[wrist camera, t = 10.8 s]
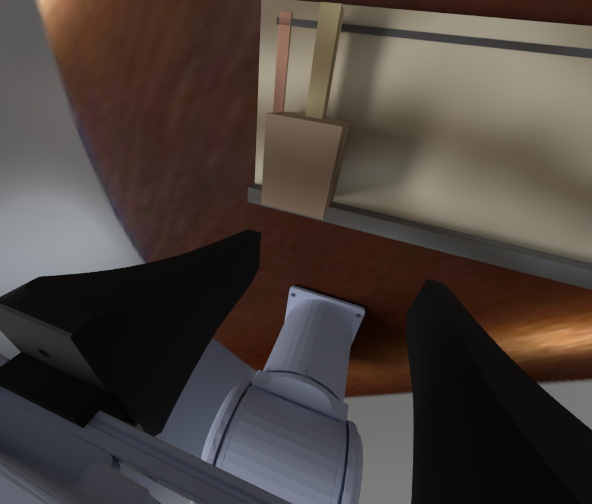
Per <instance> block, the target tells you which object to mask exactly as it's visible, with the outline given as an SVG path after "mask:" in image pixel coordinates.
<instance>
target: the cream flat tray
mask: <svg viewBox="0 0 592 504" xmlns="http://www.w3.org/2000/svg"><path fill="white" fill-rule="evenodd" d="M342 6H343V9H344V15H343V21H342V27H341V32H340V38H339V44H338V49H337V55H336V61H335V67H334V72H333V78H332V84H331V89H330V95H329V101H328V106H327V112H326V118H331V119H336V120H342V121H348V122H351V126H350V130H349V134H348V139H347V143H346V147H345V152H344V156H343V160H342V165H341V169H340V173H339V178H338V182H337V186H336V191H335V195H334V199H333V201H332V203H331V205H330V207H329V208H328V210H327V212H326V214H325V216H324V218H323V220H322V219H318V218H314V217H310V216H306V215H302V214H298V213H294V212H290V211H286V210H282V209H278V208H274V207H270V206H267V205H263V204H261V196H262V177H263V159H264V140H265V122H266V113H273V112H289V111H291V112H297V113H302V114H306V106H307V99H308V92H309V84H310V77H311V69H312V62H313V54H314V47H315V39H316V32H317V24H318V17H319V9H320V2H309V1H298V0H262V5H261V32H260V59H259V87H258V114H257V141H256V169H255V183H254V184H253V185H251V186H249V187H248V202H250V203H254V204H257V205H261V206H265V207H269V208H273V209H277V210H281V211H285V212H289V213H293V214H297V215H301V216H304V217H308V218H312V219H316V220H320V221H324V222H328V223H332V224H336V225H340V226H344V227H348V228H352V229H355V230H359V231H363V232H367V233H371V234H375V235H379V236H383V237H387V238H391V239H395V240H399V241H402V242H406V243H410V244H414V245H418V246H422V247H426V248H430V249H434V250H438V251H442V252H446V253H449V254H453V255H457V256H461V257H465V258H469V259H473V260H477V261H481V262H485V263H489V264H493V265H496V266H500V267H504V268H508V269H512V270H516V271H520V272H524V273H528V274H532V275H536V276H540V277H543V278H547V279H551V280H555V281H559V282H563V283H567V284H571V285H575V286H579V287H583V288H587V289H590V290H592V26H584V25H572V24H561V23H549V22H538V21H526V20H515V19H503V18H492V17H481V16H469V15H458V14H446V13H435V12H423V11H412V10H401V9H389V8H378V7H366V6H355V5H343V4H342Z"/></svg>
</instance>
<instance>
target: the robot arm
mask: <svg viewBox="0 0 592 504" xmlns="http://www.w3.org/2000/svg"><path fill="white" fill-rule="evenodd" d="M260 243H261V233H260V232H257V231H253V230H249V229H248V230H245V231H242V232H240V233H237V234H235V235H232V236H230V237H228V238H225V239H223V240H220V241H218V242H215V243H213V244H210V245H207V246H205V247H202V248H199V249H196V250H193V251H191V252H188V253H185V254H181V255H178V256H175V257H171V258H167V259H164V260H160V261H155V262H151V263H146V264H141V265H136V266H131V267H126V268H120V269H114V270H106V271H99V272H90V273H80V274H70V275H69V274H68V275H57V276H43V277H38V278H36V279H34V280H32V281H30V282H28V283H26V284H24V285H22V286H20V287H18V288H17V289H15V290H13V291H11V292H9V293H7V294H5V295H3V296H1V297H0V330H1V331H2V333H4V335H5V336H6V337H7V338H8V339H9V340H10V341H11V342H12V343H13V344H14V345H15V346H16V347H17V348H18V349H19V350H20V351H21V353H19V354H18V355H17V356H15V357H14V358H13V359H11V360H9V359H8V358H6V357H5V356H3V355H2V354H0V504H161V503H160V502H158V501H157V500H156V499H155V498H154V497H153V496H151V494H150V493H149V491H148V489H146V488H145V487H143V486H141V485H140V484H138V483H136V482H135V481H133V480H131V479H130V478H128V477H126V476H125V475H123V474H122V473H120V464H122V465H124V466H126V467H128V468H130V469H131V470H134V471H135V472H137V473H139V474H141V475H143V476H145V477H147V478H149V479H151V480H153V481H154V482H156V483H158V484H160V485H162V486H164V487H166V488H168V489H170V490H172V491H174V492H175V493H177V494H179V495H181V496H183V497H185V498H187V499H189V500H190V502H191V503H190V504H358V502H359V496H360V489H361V480H362V467H363V449H362V440H361V437H360V435H359V433H358V431H357V427H356V425H355V424H354V423H353V422H351V421H349V420H347V412H348V405H347V404H346V403H343V401H344V394H345V386H346V378H347V371H348V363H349V355H350V348H351V345H352V342H353V340H354V338H355V335H356V333H357V331H358V328H359V326H360V324H361V321H362V319H363V317H364V314H365V309H364V308H363V307H361V306H358V305H355V304H352V303H348V302H345V301H342V300H339V299H336V298H332V297H329V296H326V295H323V294H320V293H316V292H313V291H310V290H307V289H303V288H300V287H297V286H292V287H291V288H290V291H289V297H288V304H287V310H286V316H285V323H284V326H283V328H282V330H281V332H280V334H279V337H278V339H277V341H276V343H275V346H274V348H273V350H272V352H271V354H270V357H269V359H268V361H267V363H266V366H265V368H264V370H263V371H261V370H258V372H257V374H256V376H255V378H254V380H253V382H251V381H248V380H244V381H243V382H241V383H240V384H238V385H236V386H235V387H234V388H233V389H232V390H231V391H230V393H229V394H228V396H227V397H226V399H225V400H224V402H223V404H222V406H221V408H220V410H219V412H218V414H217V416H216V418H215V420H214V422H213V424H212V427H211V429H210V431H209V434H208V437H207V439H206V442H205V445H204V449H203V453H202V457H201V459H199V458H197V457H195V456H193V455H191V454H189V453H187V452H185V451H183V450H181V449H178V448H176V447H174V446H172V445H170V444H168V443H166V442H164V441H162V440H160V439H158V438H156V437H154V436H156V435H158V434H159V433H161V432H162V430H163V428H164V426H165V424H166V422H167V420H168V418H169V416H170V414H171V412H172V410H173V408H174V406H175V404H176V402H177V400H178V398H179V396H180V394H181V392H182V391H183V389H184V387H185V385H186V383H187V381H188V379H189V378H190V376H191V374H192V372H193V370H194V368H195V367H196V365H197V363H198V361H199V360H200V357H201V356H202V354H203V352H204V351H205V349H206V347H207V345H208V344H209V342H210V341H211V339H212V337H213V336H214V334H215V332H216V331H217V329H218V328H219V326H220V325H221V323H222V322H223V320H224V319H225V318H226V316H227V315H228V314H229V312H230V311H231V310H232V308H233V307H234V306H235V304H236V303H237V302H238V301H239V299H240V298H241V297H242V295H243V294H244V292H245V291H246V290H247V288H248V287H249V286H250V284H251V282H252V281H253V279H254V277H255V275H256V273H257V271H258V269H259V265H260ZM293 293H294V294H293ZM358 314H360V315H358ZM406 337H407V347H408V356H409V364H410V373H411V381H412V390H413V408H414V409H413V411H414V412H413V413H414V441H413V442H414V443H413V479H412V501H411V504H592V430H591V429H590V428H589V427H587V426H586V425H585V424H584V423H582V422H581V421H580V420H579V419H577V418H576V417H575V416H574V415H573V414H572V413H570V412H569V411H568V410H567V409H566V408H565V407H563V406H562V405H561V404H560V403H559V402H557V401H556V400H555V399H554V398H553V397H552V396H550V395H549V394H548V393H547V392H546V391H545V390H544V389H543V388H542V387H540V386H539V385H538V384H537V383H536V382H535V381H534V380H533V379H532V378H531V377H530V376H529V375H528V374H527V373H525V372H524V371H523V370H522V369H521V368H520V367H519V366H518V365H517V364H516V363H515V362H514V361H513V360H512V359H511V358H510V357H509V356H508V355H507V354H506V353H505V352H504V351H503V350H502V349H501V348H500V347H499V346H498V345H497V343H496V342H495V341H494V340H493V339H492V338H491V337H490V336H489V335H488V334H487V333H486V332H485V330H484V329H483V328H482V327H481V326H480V325H479V324H478V323H477V321H476V320H475V319H474V318H473V317H472V316H471V314H470V313H469V312H468V311H467V310H466V309H465V307H464V306H463V305H462V304H461V303H460V301H459V300H458V299H457V298H456V297H455V295H454V294H453V293H452V292H451V291H450V290H449V289H448V287H447V286H446V285H445V284H444V283H441V282H437V281H433V280H430V279H427V280H426V282H425V283H424V285H423V287H422V289H421V290H420V292H419V294H418V295H417V297H416V299H415V300H414V302H413V304H412V306H411V307H410V309H409V311H408V312H407V326H406ZM119 463H120V464H119Z"/></svg>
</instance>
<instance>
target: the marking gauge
mask: <svg viewBox="0 0 592 504" xmlns="http://www.w3.org/2000/svg"><path fill="white" fill-rule="evenodd" d="M343 15H344V9H343V6H342V4H339V3H327V2H320V9H319V17H318V24H317V32H316V39H315V47H314V54H313V62H312V69H311V77H310V84H309V92H308V99H307V106H306V114H302V113H297V112H291V111H289V112H273V113H266V122H265V140H264V159H263V177H262V196H261V204H263V205H267V206H270V207H274V208H278V209H282V210H286V211H290V212H294V213H298V214H302V215H306V216H310V217H314V218H318V219H322V220H323V218H324V216H325V214H326V212H327V210H328V208H329V207H330V205H331V203H332V201H333V199H334V195H335V191H336V186H337V182H338V178H339V173H340V169H341V165H342V160H343V156H344V152H345V147H346V143H347V139H348V134H349V130H350V126H351V122H348V121H342V120H336V119H331V118H326V112H327V106H328V101H329V95H330V89H331V84H332V78H333V72H334V67H335V61H336V55H337V49H338V44H339V38H340V32H341V27H342V21H343Z"/></svg>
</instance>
